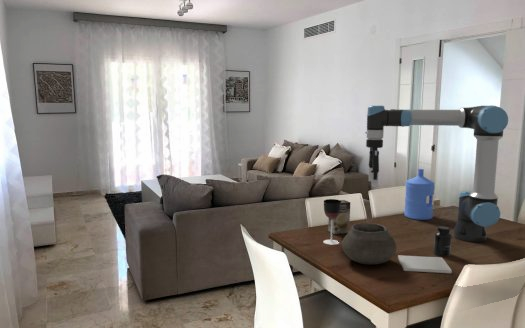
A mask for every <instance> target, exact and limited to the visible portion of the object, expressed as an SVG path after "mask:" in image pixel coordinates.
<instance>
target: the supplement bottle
mask: <svg viewBox="0 0 525 328" xmlns="http://www.w3.org/2000/svg"><path fill="white" fill-rule="evenodd" d="M450 230H451V229H450V227H448V226H442V225H440V226H437V230H436V231H437V232H435V234H434V241H433V253H434V255H436V256H438V257H439V256H440V257H449V256H450V255H451V247H452V235H451V234H450Z"/></svg>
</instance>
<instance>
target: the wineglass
mask: <svg viewBox="0 0 525 328" xmlns="http://www.w3.org/2000/svg"><path fill="white" fill-rule="evenodd" d="M340 208H341V201H340V200H339V199H335V198H334V199H332V198H330V199H327V198H326V199H325V200H323V211H324V214H325V216H326V217H327V218H328V219H329V218H330V219H331V232H330V239H325V240H323V244H326V245H331V246H332V245H339V244H340V241H339V242H338V240H337V239H333V234H332V227H333V219H334V218H336V217H337V216H338V215H339V213H340Z"/></svg>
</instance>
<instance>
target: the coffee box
mask: <svg viewBox="0 0 525 328" xmlns="http://www.w3.org/2000/svg"><path fill="white" fill-rule="evenodd" d="M340 201H341V208H340V213H339V215H338V216H337V217H336V218H334V219H333V227H332V233H333V234H332V235H339V234H340V233H341V234H348V233H349V232H350V224H351V223H350V222H351V219H350V218H351V202H350V201H348V200H346V199H343V200H342V199H341V200H340ZM327 222H328V225H327V232H329V233H331V219H330V218H328V221H327ZM341 234H340V235H341Z"/></svg>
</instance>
